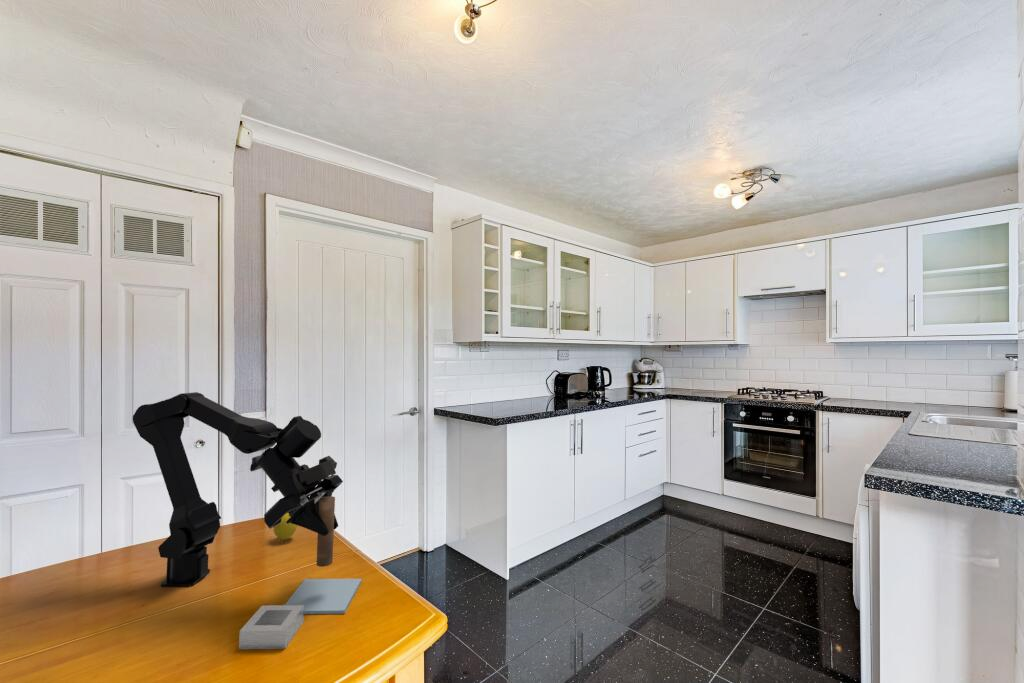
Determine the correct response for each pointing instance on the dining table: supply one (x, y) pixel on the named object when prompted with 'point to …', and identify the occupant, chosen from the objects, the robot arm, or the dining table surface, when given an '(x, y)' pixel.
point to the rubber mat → (325, 595)
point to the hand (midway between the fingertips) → (331, 531)
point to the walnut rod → (327, 541)
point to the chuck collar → (271, 627)
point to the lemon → (284, 528)
